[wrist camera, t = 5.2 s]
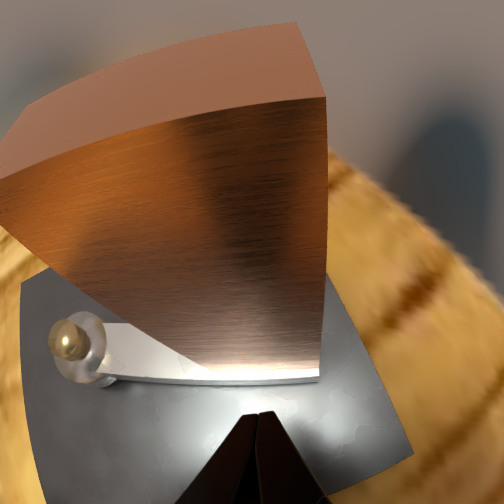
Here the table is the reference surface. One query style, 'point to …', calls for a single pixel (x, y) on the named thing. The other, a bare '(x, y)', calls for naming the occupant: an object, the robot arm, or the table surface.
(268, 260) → the link
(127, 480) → the base plate
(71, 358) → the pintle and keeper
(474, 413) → the table surface
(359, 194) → the table surface
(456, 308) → the table surface
